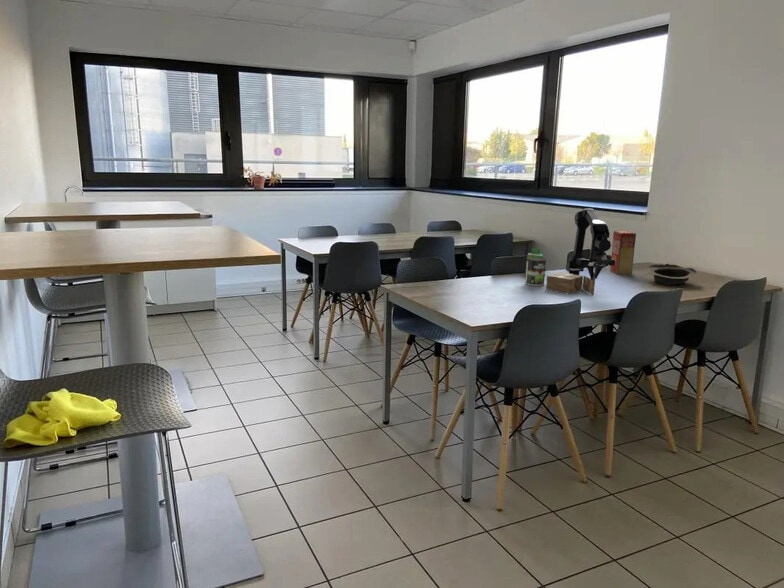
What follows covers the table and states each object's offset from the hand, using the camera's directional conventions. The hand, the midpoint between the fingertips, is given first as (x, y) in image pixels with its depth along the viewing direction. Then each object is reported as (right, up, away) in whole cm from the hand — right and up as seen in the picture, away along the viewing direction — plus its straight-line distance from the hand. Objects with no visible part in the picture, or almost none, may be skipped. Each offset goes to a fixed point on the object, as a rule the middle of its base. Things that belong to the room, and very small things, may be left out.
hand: (593, 278), depth 290 cm
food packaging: (+38, +5, +60) cm, 71 cm away
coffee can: (-24, -2, +26) cm, 35 cm away
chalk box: (-17, +5, +55) cm, 58 cm away
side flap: (-1, -7, +6) cm, 9 cm away
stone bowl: (+55, -2, +32) cm, 64 cm away
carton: (-11, -6, +13) cm, 18 cm away
